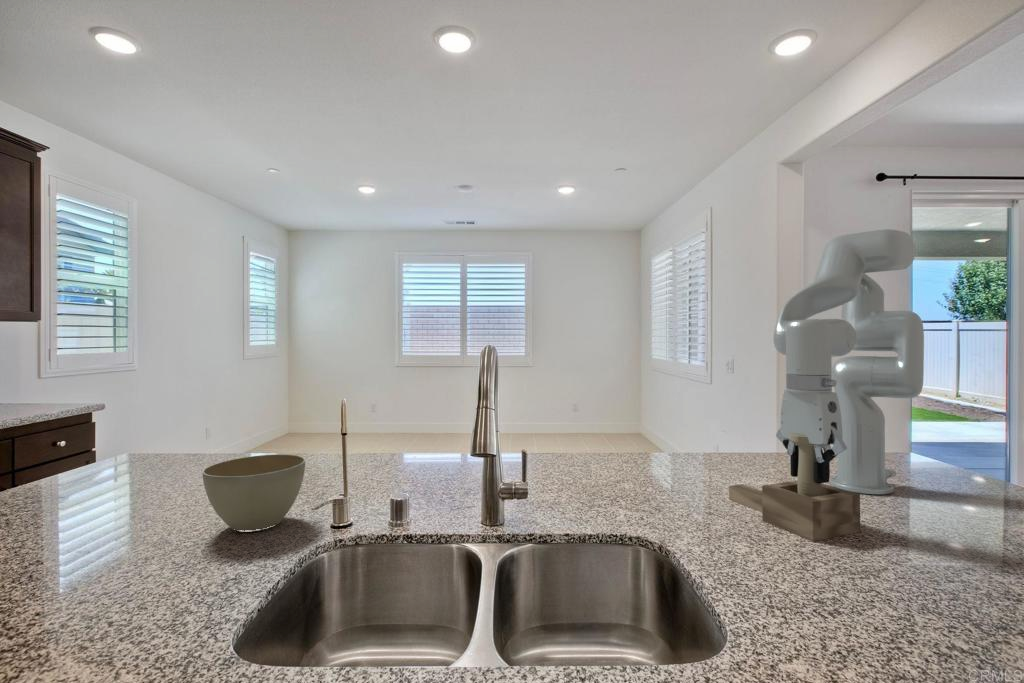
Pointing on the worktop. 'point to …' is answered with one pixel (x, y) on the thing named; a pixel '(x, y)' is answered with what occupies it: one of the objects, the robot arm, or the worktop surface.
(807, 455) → the handle
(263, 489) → the olive grey bowl
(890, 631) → the worktop surface
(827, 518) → the wooden box scoop
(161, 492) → the worktop surface
